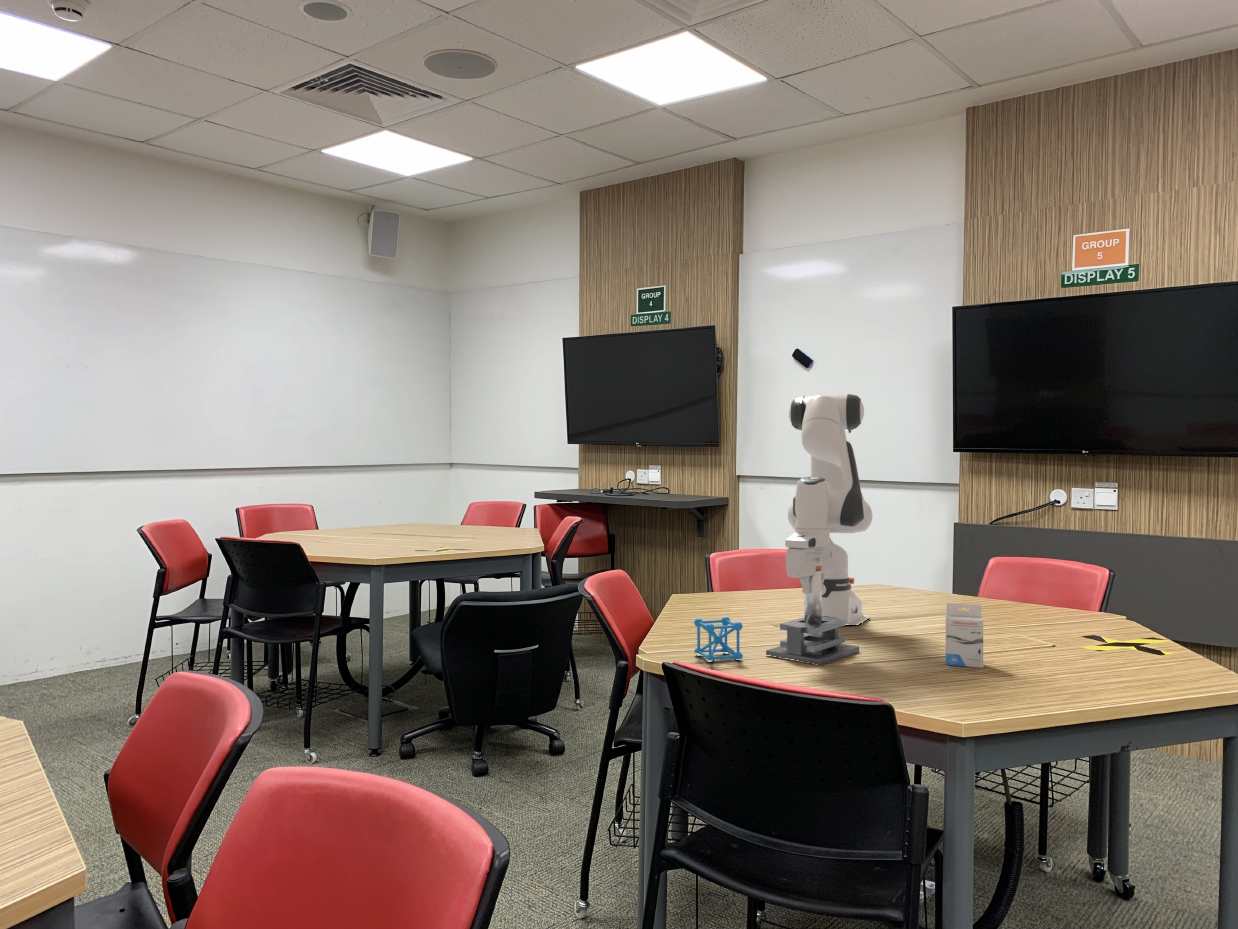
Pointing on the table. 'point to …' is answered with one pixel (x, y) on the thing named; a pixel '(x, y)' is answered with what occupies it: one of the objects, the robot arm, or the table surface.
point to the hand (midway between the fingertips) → (812, 591)
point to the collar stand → (813, 641)
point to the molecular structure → (718, 638)
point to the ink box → (964, 635)
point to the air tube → (814, 597)
